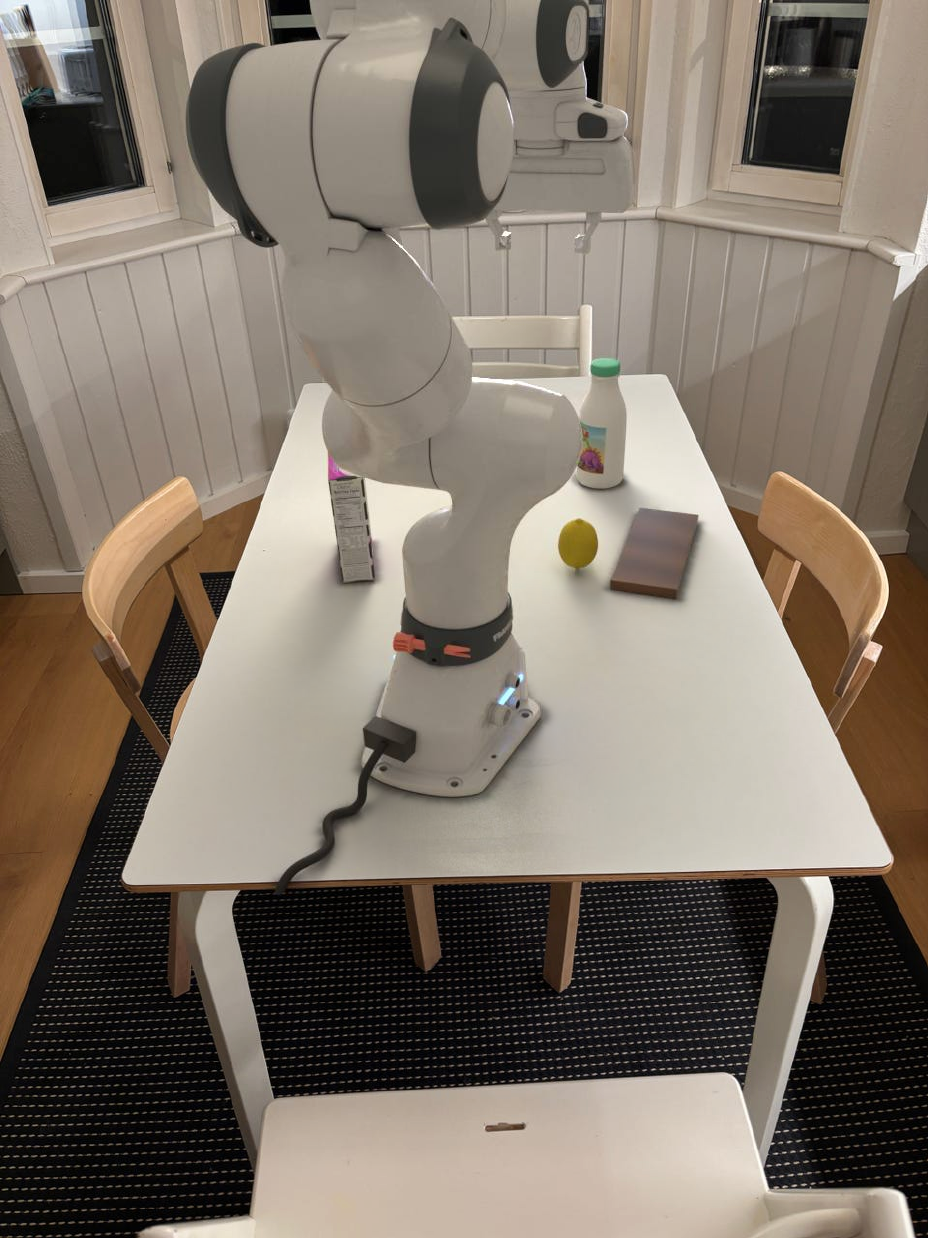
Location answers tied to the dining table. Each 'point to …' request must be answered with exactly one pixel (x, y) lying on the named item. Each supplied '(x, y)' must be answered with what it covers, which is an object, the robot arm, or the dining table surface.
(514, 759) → the dining table surface
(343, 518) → the candy bar box
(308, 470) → the dining table surface
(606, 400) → the milk bottle
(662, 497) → the dining table surface
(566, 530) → the lemon
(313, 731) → the dining table surface
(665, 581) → the serving board
